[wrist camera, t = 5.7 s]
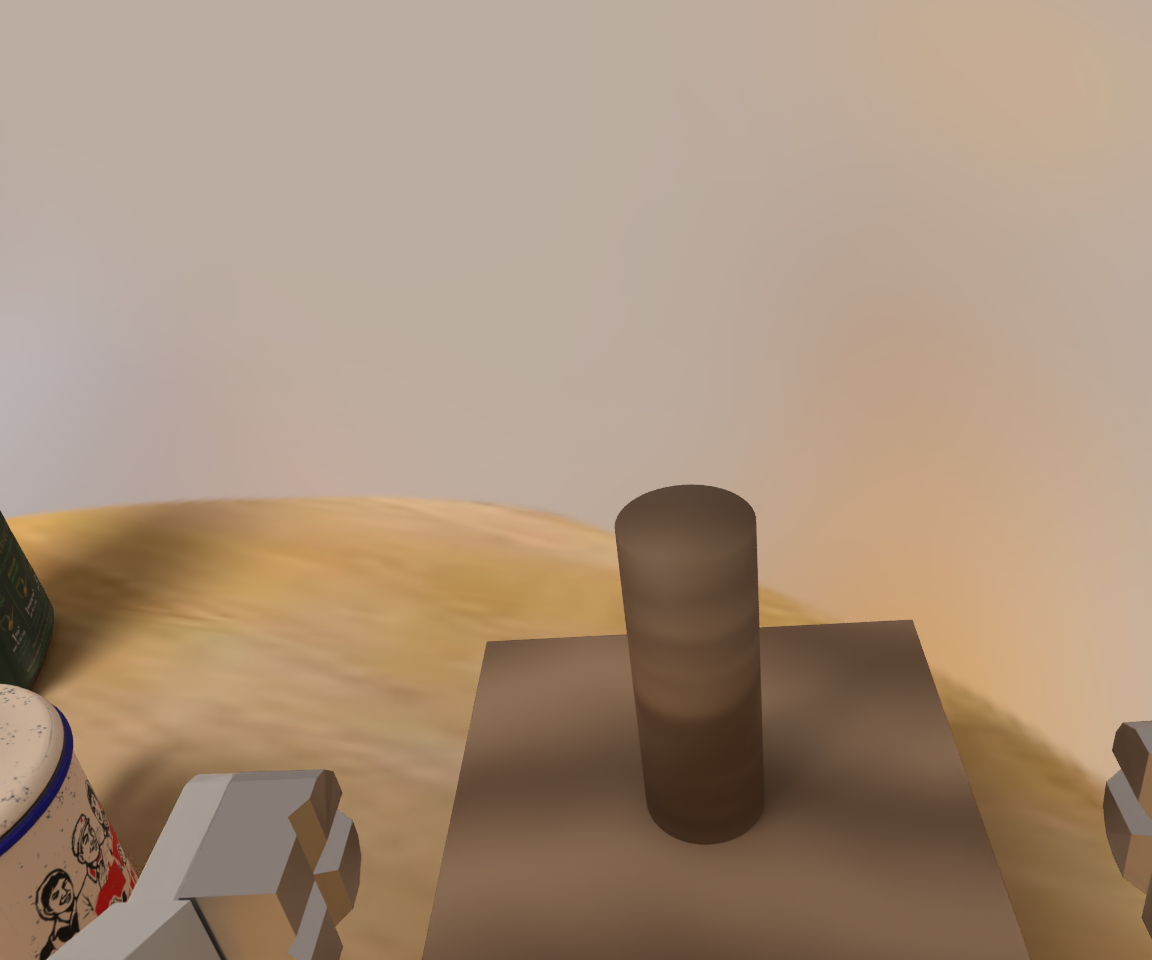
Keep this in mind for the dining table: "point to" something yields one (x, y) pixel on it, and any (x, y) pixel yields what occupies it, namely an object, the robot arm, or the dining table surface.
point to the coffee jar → (21, 615)
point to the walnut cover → (714, 780)
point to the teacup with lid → (50, 834)
